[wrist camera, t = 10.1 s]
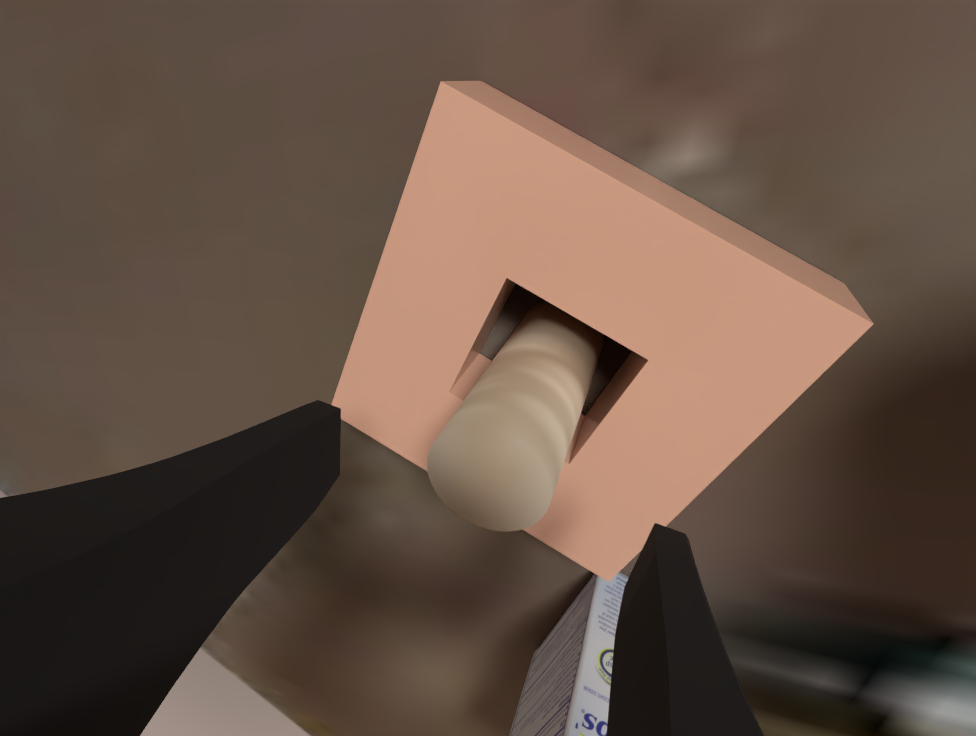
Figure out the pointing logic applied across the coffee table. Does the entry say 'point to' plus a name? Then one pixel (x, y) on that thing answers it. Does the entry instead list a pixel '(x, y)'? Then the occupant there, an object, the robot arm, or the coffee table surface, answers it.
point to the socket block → (586, 315)
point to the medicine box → (574, 667)
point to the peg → (517, 423)
